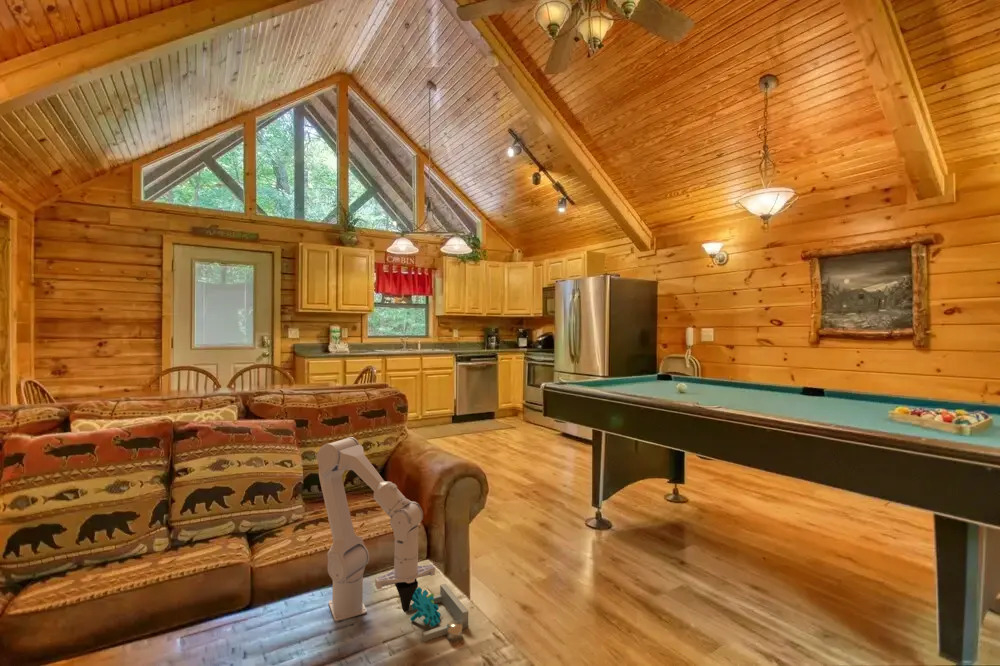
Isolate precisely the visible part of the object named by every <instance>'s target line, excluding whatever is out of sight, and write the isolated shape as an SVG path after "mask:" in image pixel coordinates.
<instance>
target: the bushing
mask: <svg viewBox="0 0 1000 666" xmlns="http://www.w3.org/2000/svg"><path fill="white" fill-rule="evenodd" d="M446 625H447V634H446V640H447V641H449V642H452V643H456V642H457V643H458V642H460V641H461V640H462V638H463V629H462V623H461V622H460V621H458V620H455V619H454V620H450V621H449V622H447V624H446Z"/></svg>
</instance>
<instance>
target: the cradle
mask: <svg viewBox="0 0 1000 666" xmlns="http://www.w3.org/2000/svg"><path fill="white" fill-rule="evenodd" d="M439 587H440V588H439V589H440V590H439V594H436V595H434V597H433V598H434V604H435V603H436V604H439V603H442V602H443V603H442V604H443V605H444V607H445V606H446V607H447V608H446V607H445V608H446V609H447V611H448V612H449V613H450V615H451V616H452V617H453V618H454V620H458V621H460V622H461V623H462V630H463V629H467V628H469V610H468V609H467V607H465V605H464V604H463V603H462V602H461V600H460V599H459V598H458V597H457V596H456V594H455V592H453V591H452V590H451V588H450V587H449V586H448V585H447V583H443V584H440V586H439ZM441 601H442V602H441ZM438 602H439V603H438ZM413 603H414V601H411V602H410V606H409V611H407V612H411V611H414V610H416V609H413V607H412V604H413ZM407 612H406V613H407ZM445 634H446V635H447V624H445V625H442V626H438V627H434V628H432V629H430V630H429V629H428V630H426V631H423V632H422V638H421V639H422V641H423V642H427V641H430V640H433V639H432V638H434V639H436V638H435V637H437V638H439V637H438V636H440V637H442V636H441V635H443V636H445ZM429 639H430V640H429Z"/></svg>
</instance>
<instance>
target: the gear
mask: <svg viewBox="0 0 1000 666" xmlns="http://www.w3.org/2000/svg"><path fill="white" fill-rule="evenodd" d="M434 596H435V595H434V593H430V594H429V592H428V591H427V589H424V590H423V589H422V588H421V587H420V586H418V587H417V589H416V591H415V592H414V594H413V597H412V599H411V602H414V603H413V604H412V607H413V609H415V610H417V611H416V612H415V613H414V614H413V615H412V616H410V621H411V622H414V621H415V620H416V619H417V618H418V619H420V618H421V617H424V618H423V620H422V622H423V624H424V625H426V626H427V625H428V624H429V626H430V627H432V628H435V626H437V625H438V624H439V623H441V620H440V618H441V616H442V615H441V612H440V611H438V610H440V609H439V608H440V606H439V604H438V603H436V604H434V598H433V597H434Z"/></svg>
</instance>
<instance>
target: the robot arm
mask: <svg viewBox="0 0 1000 666" xmlns="http://www.w3.org/2000/svg"><path fill="white" fill-rule="evenodd" d="M315 456H316V461H317V466H318V478H319V483H320V487H321V491H322V496H323V500H324V505H325V510H326V514H327V519H328V524H329V528H330V532H331V537H332V541H333V542H332V544H331V546H330V547H329V550H328V551H327V553H326V554H327V555H326V556H327V574H328V575H329V577H330V579H331V581H332V599H331V600H328V606H329V609H330V611H331V615H332V616H333V617H332V618H333V620H334V621H335V622H339V621H342V620H347V619H350V618H353V617H357V616H361V615H364V614H367V613H368V610H367V608H366V606H365V604H364V601H363V599H364V598H363V596H364V595H363V593H364V592H363V591H364V587H363V585H364V572H365V568H366V566H368V565H367V564H369V562H370V553H369V550H368V548H367V547H366V545H365V542H364V539H363V537H361V536H359V535H357V534H355V533H356V532H355V530H354V524H353V520H352V516H351V511H350V506H349V503H348V499H347V494H346V493H347V492H346V489H345V486H344V481H343V475H344V473H345V471H352V472H354V473H355V474H356V475H357V476H358V477H359V478H360V479H361V480H362V481H363V482H364V483H365V484H366V485H367V486H368V487H369V489H371V490H372V491H373V500H374V501H375V502H376V503H377V504H378V506H379V507H380V508H381V509H382V510H383V511H384V512H385V514H386V515H387V516H388V517H389V518H390V519H389V525H390V527H391V529H392V531H393V538H394V557H393V558H394V560H393V561H394V562H393V564H394V565H393V570H391V571H389V572H387V573H385V574H383V575H381V576H377V577H375V585H374V586H375V587H376V589H377V590H380V589H382V588H383V587H388V586H391V585H395V588H396V590H397V593H398V595H399V599H400V603H401V605H400V606H401V609H402V611H403V612H404V613H407V611H408V612H410V611H409V606H410V602H412V600H411V599H412V597H413V594H414V592H415V591H416V589H417V588H418V587H419V581H418V579H419V578H423V577H426V576H430V577H431V576H435V575H436V573H435V572H436V567H435V566H434V564H426V565H425V564H423V565H419V561H418V560H419V525H420V523H421V522H422V521H423V519H424V512H423V511H424V510H423V509H422V507H421V506H420V504H419V503H418V502H416V501H413V500H412V501H411V500H410V499H408V498H407V497H406V496H405V495H403V493H402V492H401V491H400V490H399V489H398V486H397V484H396V483H393V482H392V481H385V480H384V478H382V476H381V475H380V473H379V472H378V471H377V469H376V468H375V467H374V465H373V464H372V463H371V461H370V460H369V458H367V456H366V455H365V451H364V447H363V446H362V444H360V442H359V441H358V440H357V438H355V437H353V436H348V437H345V438H344V439H340V440H337V441H333V442H329V443H325V444H323V445H321V446H320V447H319V450H318V451H317V453H316V455H315Z"/></svg>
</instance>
